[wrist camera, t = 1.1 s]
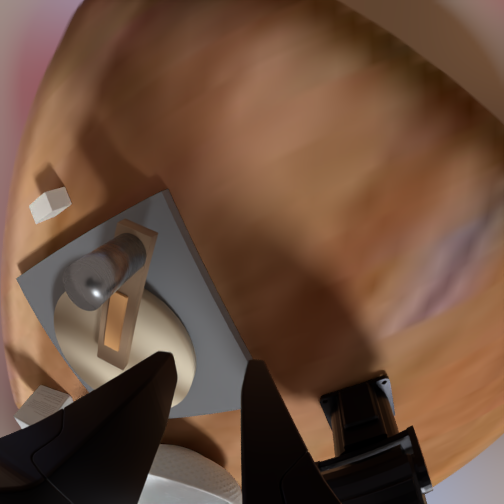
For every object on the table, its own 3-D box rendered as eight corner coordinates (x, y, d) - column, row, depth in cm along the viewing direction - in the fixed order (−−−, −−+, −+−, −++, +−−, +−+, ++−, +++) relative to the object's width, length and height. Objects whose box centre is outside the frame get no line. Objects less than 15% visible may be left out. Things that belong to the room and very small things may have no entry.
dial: (177, 417, 25) (154, 478, 18) (63, 359, 24) (24, 405, 17) (243, 258, 19) (221, 323, 12) (76, 188, 18) (0, 211, 11)
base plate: (272, 393, 24) (270, 413, 22) (118, 414, 28) (109, 429, 26) (144, 133, 18) (126, 132, 16) (6, 236, 22) (-10, 244, 20)
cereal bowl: (129, 466, 34) (115, 500, 27) (112, 404, 28) (86, 448, 21) (238, 494, 33) (232, 532, 26) (258, 443, 27) (252, 496, 21)
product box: (87, 424, 31) (64, 461, 24) (56, 412, 31) (33, 445, 25) (70, 394, 29) (42, 432, 22) (39, 382, 29) (11, 416, 23)
